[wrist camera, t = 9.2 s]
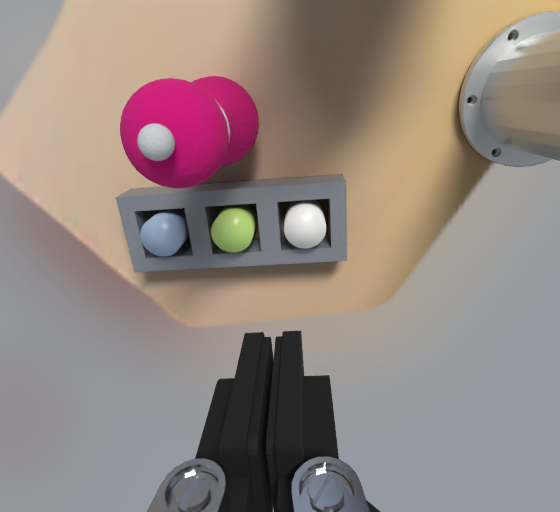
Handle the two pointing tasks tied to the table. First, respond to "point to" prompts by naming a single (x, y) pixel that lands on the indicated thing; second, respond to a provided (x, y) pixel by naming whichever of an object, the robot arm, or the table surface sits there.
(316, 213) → the white rounded piece
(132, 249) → the panel
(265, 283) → the table surface
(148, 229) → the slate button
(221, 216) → the lime button
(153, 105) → the pepper mill
